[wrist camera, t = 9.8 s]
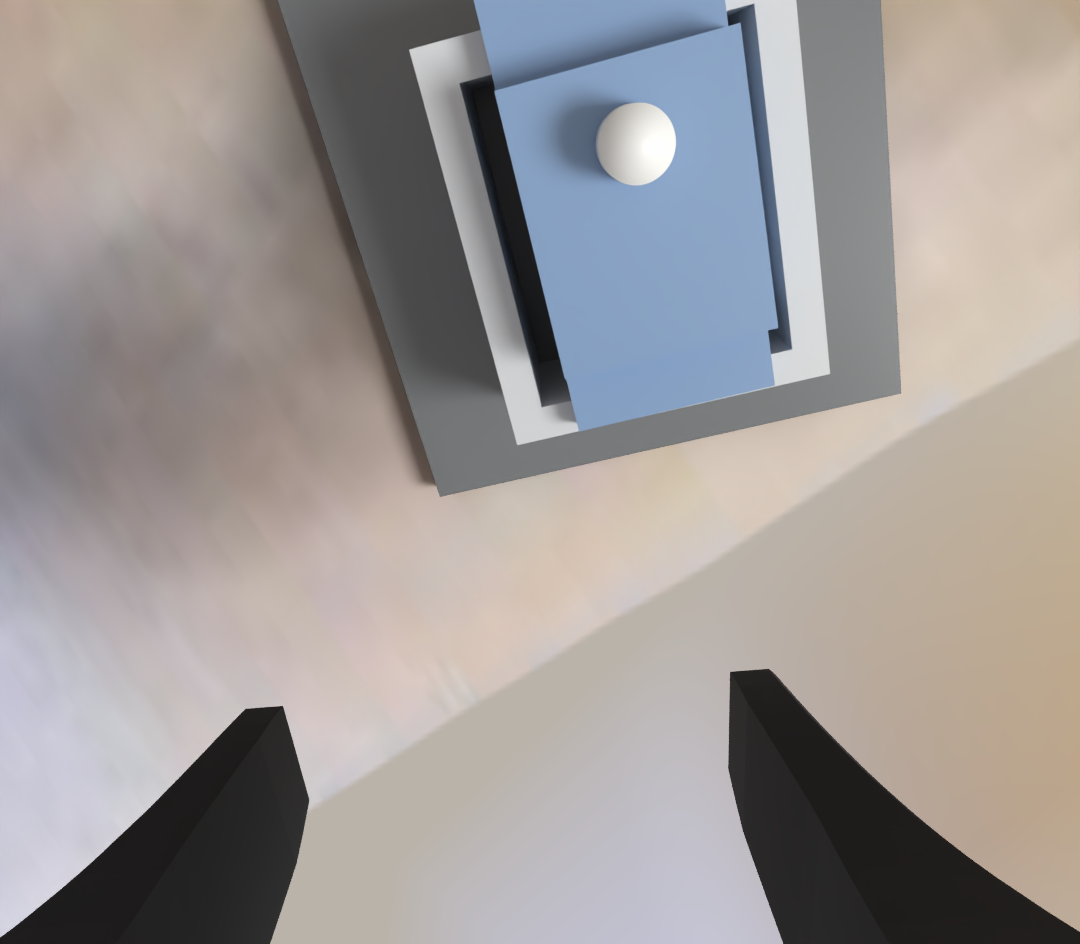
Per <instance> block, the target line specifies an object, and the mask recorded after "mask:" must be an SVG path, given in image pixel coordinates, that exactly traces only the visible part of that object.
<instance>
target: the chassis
mask: <svg viewBox="0 0 1080 944" xmlns="http://www.w3.org/2000/svg"><path fill="white" fill-rule="evenodd" d="M278 3H279V6H280V9H281V12H282V15H283V19H284V22H285V25H286V28H287V31H288V34H289V37H290V40H291V43H292V46H293V49H294V52H295V55H296V58H297V61H298V64H299V67H300V70H301V74H302V77H303V80H304V83H305V86H306V89H307V92H308V95H309V98H310V101H311V104H312V107H313V110H314V113H315V116H316V119H317V122H318V125H319V128H320V132H321V135H322V138H323V141H324V144H325V147H326V150H327V153H328V156H329V159H330V162H331V165H332V168H333V171H334V174H335V177H336V180H337V183H338V187H339V190H340V193H341V196H342V199H343V202H344V205H345V208H346V211H347V214H348V217H349V220H350V223H351V226H352V229H353V232H354V235H355V238H356V242H357V245H358V248H359V251H360V254H361V257H362V260H363V263H364V266H365V269H366V272H367V275H368V278H369V281H370V284H371V287H372V290H373V293H374V297H375V300H376V303H377V306H378V309H379V312H380V315H381V318H382V321H383V324H384V327H385V330H386V333H387V336H388V339H389V342H390V345H391V348H392V351H393V355H394V358H395V361H396V364H397V367H398V370H399V373H400V376H401V379H402V382H403V385H404V388H405V391H406V394H407V397H408V400H409V403H410V406H411V410H412V413H413V416H414V419H415V422H416V425H417V428H418V431H419V434H420V437H421V440H422V443H423V446H424V449H425V452H426V455H427V458H428V461H429V465H430V468H431V471H432V474H433V477H434V480H435V483H436V486H437V489H438V492H439V495H440V497H441V496H446V495H450V494H455V493H459V492H464V491H468V490H473V489H477V488H481V487H486V486H490V485H495V484H499V483H504V482H508V481H513V480H517V479H522V478H526V477H530V476H535V475H539V474H544V473H548V472H553V471H557V470H562V469H566V468H571V467H575V466H580V465H584V464H588V463H593V462H597V461H602V460H606V459H611V458H615V457H620V456H624V455H629V454H633V453H637V452H642V451H646V450H651V449H655V448H660V447H664V446H669V445H673V444H678V443H682V442H687V441H691V440H695V439H700V438H704V437H709V436H713V435H718V434H722V433H727V432H731V431H736V430H740V429H745V428H749V427H753V426H758V425H762V424H767V423H771V422H776V421H780V420H785V419H789V418H794V417H798V416H802V415H807V414H811V413H816V412H820V411H825V410H829V409H834V408H838V407H843V406H847V405H852V404H856V403H860V402H865V401H869V400H874V399H878V398H883V397H887V396H892V395H896V394H901V380H900V361H899V342H898V323H897V303H896V284H895V265H894V246H893V227H892V207H891V188H890V169H889V150H888V131H887V111H886V92H885V73H884V54H883V35H882V15H881V0H725V3H726V11H727V19H728V26H730V25H734V24H738V23H741V30H742V39H743V47H744V55H745V63H746V71H747V79H748V87H749V95H750V103H751V111H752V119H753V127H754V135H755V143H756V152H757V160H758V168H759V176H760V184H761V192H762V200H763V208H764V216H765V224H766V232H767V240H768V248H769V257H770V265H771V273H772V281H773V289H774V297H775V305H776V313H777V321H778V328H776V329H772V330H768V335H769V343H770V351H771V358H772V366H773V374H774V381H775V386H771V387H767V388H762V389H758V390H754V391H750V392H745V393H741V394H737V395H733V396H728V397H724V398H720V399H716V400H711V401H707V402H703V403H698V404H694V405H690V406H686V407H681V408H677V409H673V410H669V411H664V412H660V413H656V414H652V415H647V416H643V417H639V418H635V419H630V420H626V421H622V422H618V423H613V424H609V425H605V426H601V427H596V428H592V429H588V430H584V431H579V429H578V425H577V421H576V417H575V413H574V409H573V405H572V401H571V397H570V392H569V388H568V384H567V380H566V379H565V377H564V373H563V369H562V365H561V361H560V357H559V353H558V349H557V345H556V341H555V337H554V333H553V329H552V324H551V320H550V316H549V312H548V308H547V304H546V300H545V296H544V292H543V288H542V284H541V280H540V276H539V271H538V267H537V263H536V259H535V255H534V251H533V247H532V243H531V239H530V235H529V231H528V227H527V222H526V218H525V214H524V210H523V206H522V202H521V198H520V194H519V190H518V186H517V182H516V178H515V174H514V169H513V165H512V161H511V157H510V153H509V149H508V145H507V141H506V137H505V133H504V129H503V125H502V120H501V116H500V112H499V108H498V104H497V100H496V96H495V92H494V91H496V90H495V86H494V82H493V77H492V73H491V69H490V65H489V61H488V57H487V53H486V49H485V45H484V41H483V37H482V32H481V28H480V24H479V20H478V16H477V12H476V8H475V4H474V0H278Z"/></svg>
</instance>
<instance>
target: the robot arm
mask: <svg viewBox="0 0 1080 944" xmlns="http://www.w3.org/2000/svg"><path fill="white" fill-rule="evenodd" d="M729 714H730V716H729V766H728V768H729V773H730V778H731V782H732V787H733V791H734V795H735V800H736V804H737V808H738V812H739V816H740V820H741V824H742V828H743V832H744V835H745V838H746V841H747V844H748V846H749V849H750V852H751V855H752V858H753V861H754V863H755V866H756V869H757V872H758V875H759V877H760V880H761V883H762V886H763V889H764V891H765V894H766V897H767V900H768V902H769V905H770V908H771V911H772V914H773V916H774V919H775V922H776V925H777V927H778V930H779V933H780V935H781V938H782V941H783V944H1080V932H1079V931H1077V930H1076V929H1074V928H1073V927H1071V926H1069V925H1068V924H1066V923H1064V922H1063V921H1061V920H1060V919H1058V918H1057V917H1055V916H1053V915H1052V914H1050V913H1048V912H1047V911H1046V910H1044V909H1042V908H1041V907H1040V906H1038V905H1037V904H1035V903H1034V902H1032V901H1031V900H1029V899H1028V898H1026V897H1025V896H1023V895H1022V894H1020V893H1019V892H1017V891H1016V890H1014V889H1013V888H1011V887H1010V886H1008V885H1007V884H1005V883H1004V882H1002V881H1001V880H999V879H998V878H996V877H995V876H993V875H992V874H991V873H989V872H988V871H987V870H985V869H984V868H982V867H981V866H980V865H978V864H977V863H975V862H974V861H973V860H971V859H970V858H969V857H967V856H966V855H965V854H963V853H962V852H961V851H960V850H958V849H957V848H956V847H954V846H953V845H952V844H951V843H949V842H948V841H947V840H945V839H944V838H943V837H942V836H940V835H939V834H938V833H937V832H935V831H934V830H933V829H932V828H931V827H929V826H928V825H927V824H926V823H924V822H923V821H922V820H921V819H920V818H919V817H917V816H916V815H915V814H914V813H913V812H911V811H910V810H909V809H908V808H907V807H906V806H905V805H903V804H902V803H901V802H900V801H899V800H898V799H896V797H895V796H893V795H892V794H891V793H890V792H889V791H887V789H886V788H884V787H883V786H882V785H881V784H880V783H879V782H878V781H877V780H876V779H875V778H874V777H872V775H870V774H869V773H868V772H867V771H866V770H865V769H864V768H863V767H862V766H861V765H860V764H859V763H858V762H857V761H856V760H855V759H854V758H853V757H852V756H851V755H850V754H849V753H848V752H847V751H846V750H845V749H844V748H843V747H842V746H841V745H840V744H839V743H837V741H836V740H835V739H834V738H833V737H832V736H831V735H830V734H829V733H828V732H827V731H826V730H825V729H824V728H823V727H822V726H821V725H820V724H819V723H818V721H817V720H816V719H815V718H814V717H813V716H812V715H811V714H810V713H809V712H808V711H807V710H806V709H805V707H804V706H803V705H802V704H801V703H800V702H799V701H798V700H797V699H796V698H795V696H794V695H793V694H792V693H791V692H790V691H789V690H788V689H787V687H786V686H785V685H784V684H783V683H782V682H781V681H780V679H779V678H778V677H777V676H776V675H775V674H774V673H773V672H772V671H771V670H769V669H763V670H750V671H736V672H730V712H729ZM308 804H309V797H308V794H307V790H306V787H305V783H304V780H303V776H302V772H301V769H300V765H299V762H298V758H297V755H296V751H295V747H294V744H293V740H292V737H291V733H290V730H289V726H288V722H287V719H286V715H285V712H284V708H283V706H278V707H265V708H252V709H245V710H244V711H243V712H242V713H241V714H240V715H239V716H238V717H237V718H236V719H235V720H234V721H233V722H232V723H231V724H230V725H229V726H228V727H227V729H226V730H225V731H224V732H223V733H222V734H221V735H220V736H219V737H218V738H217V739H216V740H215V741H214V742H213V743H212V744H211V745H210V746H209V747H208V748H207V750H206V751H205V752H204V753H203V754H202V755H201V756H200V757H199V758H198V759H197V760H196V761H195V762H194V763H193V764H192V765H191V766H190V767H189V768H188V769H187V770H186V771H185V772H184V773H183V774H182V776H181V777H180V778H179V779H178V780H177V781H176V782H175V783H174V784H173V785H172V786H171V787H170V788H169V789H168V790H167V791H166V792H165V793H164V794H163V795H162V796H161V797H160V798H159V799H158V800H157V801H156V802H155V803H154V804H153V805H152V806H151V807H150V808H149V809H148V810H147V811H146V812H145V813H144V814H143V815H142V816H141V817H140V818H139V819H138V820H136V821H135V822H134V823H133V824H132V825H131V826H130V827H129V828H128V829H127V830H126V831H125V832H124V833H123V834H122V835H121V836H119V837H118V838H117V839H116V840H115V841H114V842H113V843H112V844H111V845H110V846H109V847H108V848H107V849H106V850H105V851H104V852H103V853H101V854H100V855H99V856H98V857H97V858H96V859H95V860H94V861H93V862H92V863H91V864H90V865H88V866H87V867H86V868H85V869H84V870H83V871H82V872H81V873H79V874H78V875H77V876H76V877H75V878H74V879H72V880H71V881H70V882H69V883H68V884H67V885H65V886H64V887H63V888H62V889H61V890H60V891H58V892H57V893H56V894H55V895H53V896H52V897H51V898H50V899H49V900H47V901H46V902H45V903H44V904H42V905H41V906H40V907H39V908H38V909H36V910H35V911H34V912H33V913H31V914H30V915H29V916H28V917H27V918H25V919H24V920H23V921H21V922H20V923H19V924H18V925H16V926H15V927H14V928H13V929H11V930H10V931H9V932H7V933H6V934H4V935H3V936H2V937H0V944H270V942H271V939H272V936H273V933H274V930H275V927H276V924H277V921H278V918H279V915H280V912H281V909H282V906H283V903H284V900H285V897H286V894H287V891H288V888H289V885H290V882H291V879H292V876H293V872H294V869H295V866H296V863H297V858H298V854H299V848H300V844H301V840H302V835H303V830H304V825H305V820H306V814H307V809H308Z"/></svg>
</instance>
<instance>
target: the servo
mask: <svg viewBox="0 0 1080 944" xmlns="http://www.w3.org/2000/svg"><path fill="white" fill-rule="evenodd" d="M474 4H475V8H476V12H477V16H478V20H479V24H480V28H481V32H482V37H483V41H484V45H485V49H486V53H487V57H488V61H489V65H490V69H491V73H492V77H493V82H494V86H495V90H496V91H494V92H495V96H496V100H497V104H498V108H499V112H500V116H501V120H502V125H503V129H504V133H505V137H506V141H507V145H508V149H509V153H510V157H511V161H512V165H513V169H514V174H515V178H516V182H517V186H518V190H519V194H520V198H521V202H522V206H523V210H524V214H525V218H526V222H527V227H528V231H529V235H530V239H531V243H532V247H533V251H534V255H535V259H536V263H537V267H538V271H539V276H540V280H541V284H542V288H543V292H544V296H545V300H546V304H547V308H548V312H549V316H550V320H551V324H552V329H553V333H554V337H555V341H556V345H557V349H558V353H559V357H560V361H561V365H562V369H563V373H564V377H565V379H566V380H567V384H568V388H569V392H570V397H571V401H572V405H573V409H574V413H575V417H576V421H577V425H578V429H579V431H584V430H588V429H592V428H596V427H601V426H605V425H609V424H613V423H618V422H622V421H626V420H630V419H635V418H639V417H643V416H647V415H652V414H656V413H660V412H664V411H669V410H673V409H677V408H681V407H686V406H690V405H694V404H698V403H703V402H707V401H711V400H716V399H720V398H724V397H728V396H733V395H737V394H741V393H745V392H750V391H754V390H758V389H762V388H767V387H771V386H775V381H774V374H773V366H772V358H771V351H770V343H769V335H768V330H772V329H776V328H778V321H777V313H776V305H775V297H774V289H773V281H772V273H771V265H770V257H769V248H768V240H767V232H766V224H765V216H764V208H763V200H762V192H761V184H760V176H759V168H758V160H757V152H756V143H755V135H754V127H753V119H752V111H751V103H750V95H749V87H748V79H747V71H746V63H745V55H744V47H743V39H742V30H741V23H738V24H734V25H730V26H728V19H727V11H726V3H725V0H474Z"/></svg>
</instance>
